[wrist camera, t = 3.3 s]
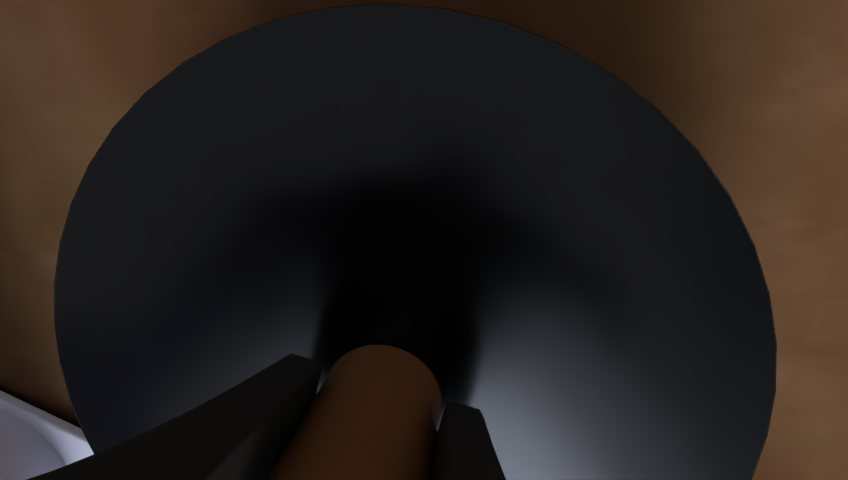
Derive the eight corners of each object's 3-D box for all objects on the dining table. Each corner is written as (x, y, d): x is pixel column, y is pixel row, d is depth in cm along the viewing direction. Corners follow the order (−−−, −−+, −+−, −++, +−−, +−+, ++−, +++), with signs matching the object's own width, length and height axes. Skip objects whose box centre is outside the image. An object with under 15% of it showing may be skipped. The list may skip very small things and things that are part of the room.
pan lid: (533, 694, 13) (557, 1040, 8) (44, 464, 13) (-215, 676, 8) (920, 223, 9) (1454, 380, 4) (182, -126, 9) (-203, -404, 4)
